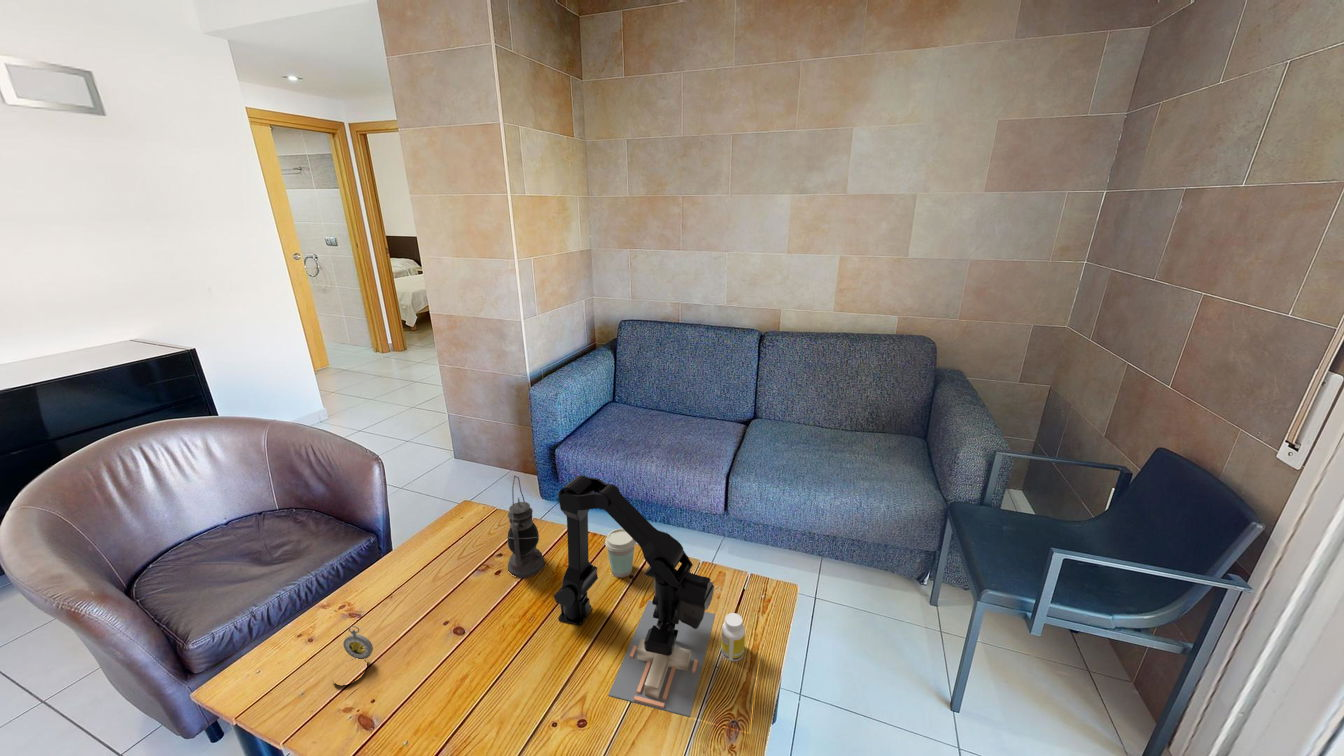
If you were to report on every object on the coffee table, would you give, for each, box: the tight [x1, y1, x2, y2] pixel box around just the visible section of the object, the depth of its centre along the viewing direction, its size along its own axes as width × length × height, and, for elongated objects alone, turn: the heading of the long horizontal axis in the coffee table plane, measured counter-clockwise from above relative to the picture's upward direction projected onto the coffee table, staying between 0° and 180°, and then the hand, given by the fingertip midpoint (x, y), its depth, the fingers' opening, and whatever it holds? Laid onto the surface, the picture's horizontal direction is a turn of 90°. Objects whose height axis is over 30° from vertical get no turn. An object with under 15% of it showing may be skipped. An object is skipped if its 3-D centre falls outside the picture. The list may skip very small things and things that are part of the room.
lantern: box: [506, 475, 546, 579], centre depth 140 cm, size 12×11×30 cm
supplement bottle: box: [720, 612, 746, 662], centre depth 114 cm, size 5×5×10 cm
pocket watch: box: [343, 625, 374, 660], centre depth 110 cm, size 8×8×10 cm
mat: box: [607, 599, 716, 719], centre depth 116 cm, size 18×28×1 cm, turn 165°
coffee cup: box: [604, 527, 637, 578], centre depth 140 cm, size 8×9×12 cm
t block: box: [637, 639, 691, 698], centre depth 110 cm, size 12×11×3 cm
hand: (668, 641), depth 117 cm, fingers open, 3 cm apart
